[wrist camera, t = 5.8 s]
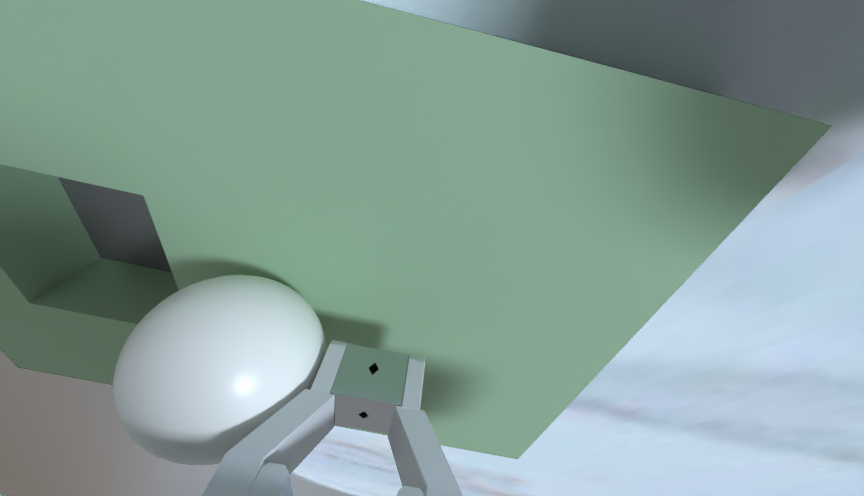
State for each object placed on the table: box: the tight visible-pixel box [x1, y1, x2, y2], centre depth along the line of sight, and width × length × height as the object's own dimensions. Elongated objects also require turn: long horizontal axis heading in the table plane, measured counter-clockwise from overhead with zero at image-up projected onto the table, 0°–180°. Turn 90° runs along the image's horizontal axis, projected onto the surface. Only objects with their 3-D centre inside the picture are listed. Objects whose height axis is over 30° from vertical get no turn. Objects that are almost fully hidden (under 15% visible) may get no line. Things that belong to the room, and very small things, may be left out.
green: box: [0, 0, 831, 459], centre depth 12 cm, size 18×26×4 cm
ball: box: [113, 275, 326, 465], centre depth 9 cm, size 5×5×5 cm
